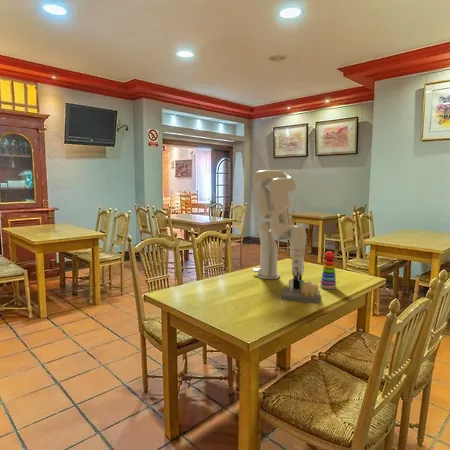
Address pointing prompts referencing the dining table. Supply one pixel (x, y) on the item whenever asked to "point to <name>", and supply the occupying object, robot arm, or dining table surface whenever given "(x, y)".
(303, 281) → the teal gear
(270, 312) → the dining table surface
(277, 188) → the robot arm
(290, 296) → the gear board
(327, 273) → the stacking toy
